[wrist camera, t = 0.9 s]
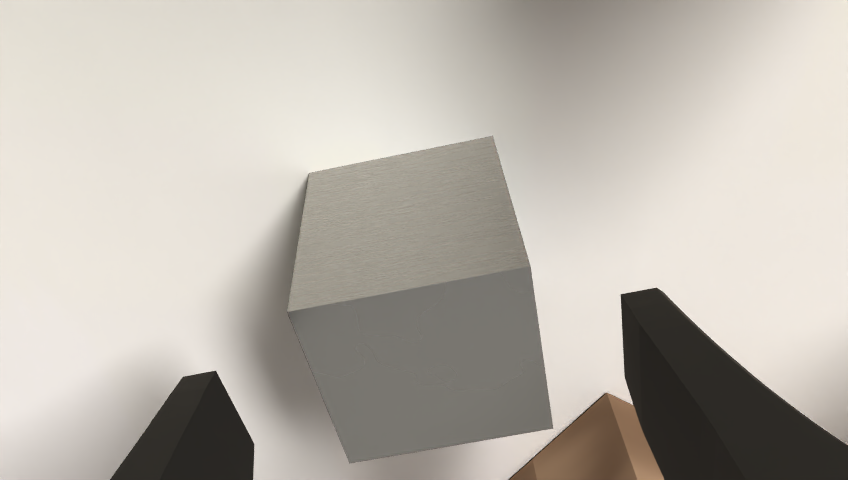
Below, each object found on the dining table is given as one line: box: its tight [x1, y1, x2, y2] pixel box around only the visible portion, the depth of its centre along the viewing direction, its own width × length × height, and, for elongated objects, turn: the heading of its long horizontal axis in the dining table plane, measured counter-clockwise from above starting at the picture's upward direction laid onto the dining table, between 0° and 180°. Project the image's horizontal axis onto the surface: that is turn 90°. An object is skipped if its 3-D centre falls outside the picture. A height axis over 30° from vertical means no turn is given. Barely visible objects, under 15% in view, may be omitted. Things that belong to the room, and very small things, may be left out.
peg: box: [287, 136, 553, 463], centre depth 14 cm, size 4×4×5 cm
